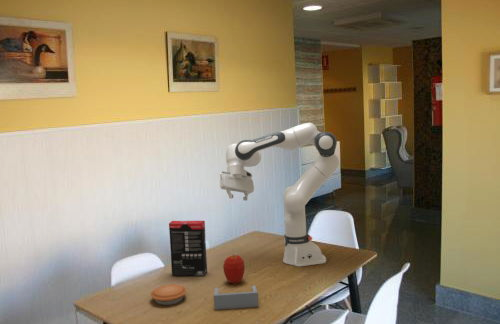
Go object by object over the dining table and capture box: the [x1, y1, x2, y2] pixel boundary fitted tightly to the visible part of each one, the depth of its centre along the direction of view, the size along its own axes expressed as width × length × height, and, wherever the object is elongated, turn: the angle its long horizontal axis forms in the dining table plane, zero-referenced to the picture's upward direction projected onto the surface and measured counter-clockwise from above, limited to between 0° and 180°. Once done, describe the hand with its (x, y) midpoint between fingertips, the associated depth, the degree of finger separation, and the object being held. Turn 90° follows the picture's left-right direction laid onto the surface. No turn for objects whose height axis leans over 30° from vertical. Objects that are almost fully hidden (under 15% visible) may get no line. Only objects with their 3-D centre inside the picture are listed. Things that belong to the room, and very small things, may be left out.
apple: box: [222, 253, 246, 284], centre depth 218 cm, size 10×10×14 cm
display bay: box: [213, 285, 259, 311], centre depth 198 cm, size 18×16×6 cm
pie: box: [150, 283, 188, 306], centre depth 202 cm, size 15×16×5 cm
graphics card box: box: [168, 220, 208, 277], centre depth 230 cm, size 17×7×27 cm, turn 84°
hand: (238, 199), depth 237 cm, fingers open, 8 cm apart
